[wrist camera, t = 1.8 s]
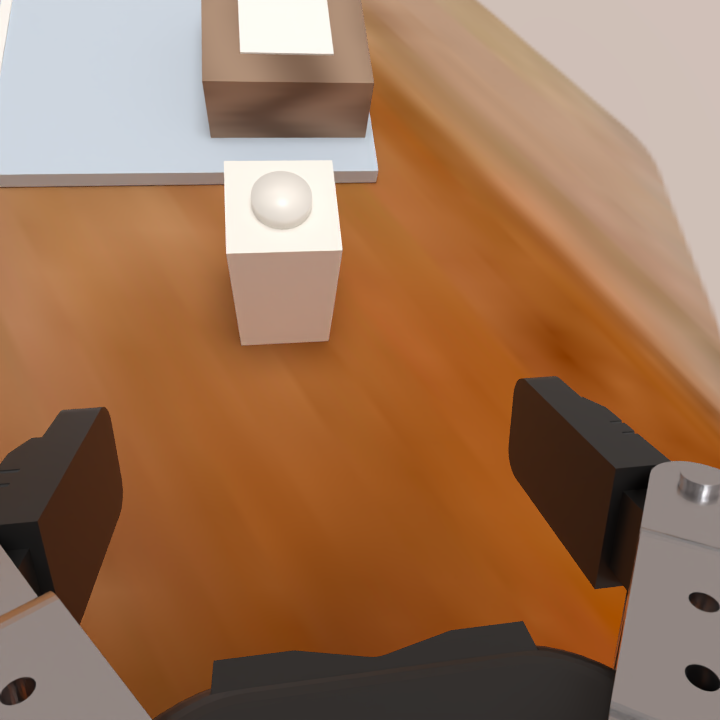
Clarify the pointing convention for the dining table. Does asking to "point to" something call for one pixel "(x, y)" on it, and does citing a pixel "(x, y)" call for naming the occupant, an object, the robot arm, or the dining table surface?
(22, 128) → the build board
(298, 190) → the block
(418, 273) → the dining table surface
